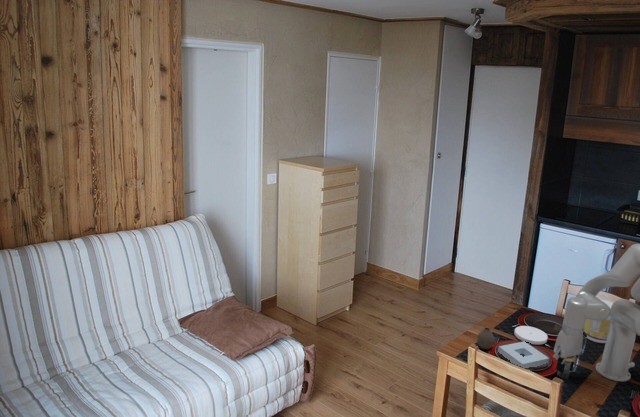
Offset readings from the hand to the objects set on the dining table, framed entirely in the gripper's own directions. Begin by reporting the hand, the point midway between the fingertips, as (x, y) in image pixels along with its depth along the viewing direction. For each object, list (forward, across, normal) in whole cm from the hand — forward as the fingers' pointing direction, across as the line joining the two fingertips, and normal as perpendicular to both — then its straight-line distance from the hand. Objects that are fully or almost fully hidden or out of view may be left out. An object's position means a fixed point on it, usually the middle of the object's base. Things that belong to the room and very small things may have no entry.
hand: (564, 369), depth 213 cm
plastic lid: (+3, -10, -28) cm, 30 cm away
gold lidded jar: (+3, 0, 0) cm, 3 cm away
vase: (+3, +16, -28) cm, 32 cm away
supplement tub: (+3, -41, -19) cm, 45 cm away
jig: (+3, +8, -14) cm, 16 cm away
